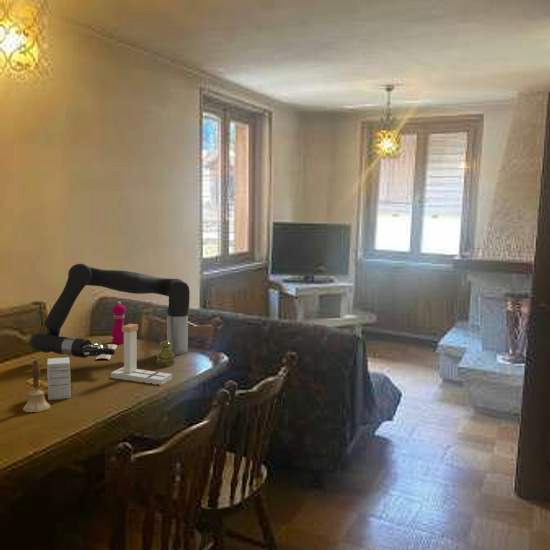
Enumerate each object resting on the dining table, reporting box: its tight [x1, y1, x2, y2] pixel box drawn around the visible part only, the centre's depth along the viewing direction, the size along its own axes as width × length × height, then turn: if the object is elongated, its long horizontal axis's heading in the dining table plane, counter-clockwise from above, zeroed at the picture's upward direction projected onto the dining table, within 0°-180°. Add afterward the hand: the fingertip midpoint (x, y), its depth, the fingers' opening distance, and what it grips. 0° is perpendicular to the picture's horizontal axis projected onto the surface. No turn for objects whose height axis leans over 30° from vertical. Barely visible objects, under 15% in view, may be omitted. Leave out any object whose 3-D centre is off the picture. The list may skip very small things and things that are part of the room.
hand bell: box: [22, 359, 51, 414], centre depth 180 cm, size 8×8×16 cm
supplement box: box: [46, 356, 72, 401], centre depth 193 cm, size 7×7×13 cm
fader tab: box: [122, 323, 139, 373], centre depth 215 cm, size 6×4×18 cm, turn 162°
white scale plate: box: [110, 366, 173, 386], centre depth 215 cm, size 8×22×2 cm, turn 72°
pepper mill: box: [111, 300, 126, 345], centre depth 266 cm, size 7×7×20 cm
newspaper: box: [94, 343, 118, 361], centre depth 249 cm, size 24×7×2 cm, turn 8°
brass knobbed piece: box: [156, 339, 176, 367], centre depth 234 cm, size 7×7×10 cm
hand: (113, 352), depth 218 cm, fingers closed
